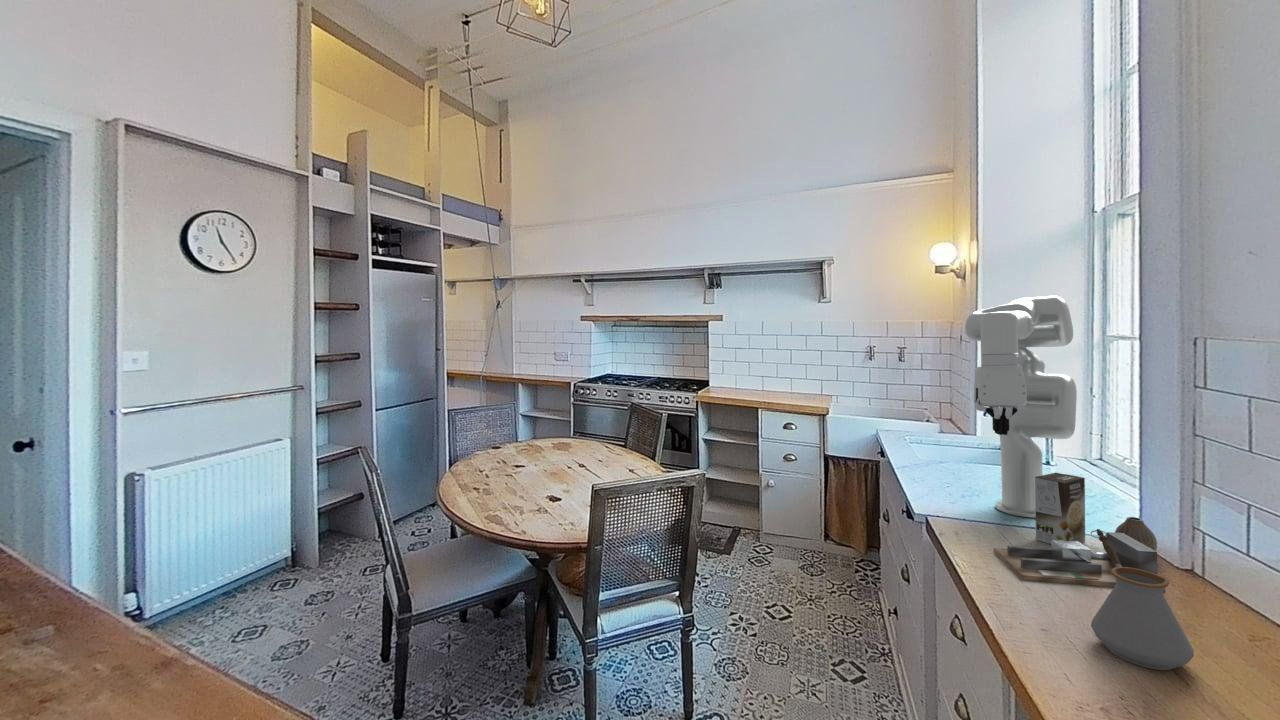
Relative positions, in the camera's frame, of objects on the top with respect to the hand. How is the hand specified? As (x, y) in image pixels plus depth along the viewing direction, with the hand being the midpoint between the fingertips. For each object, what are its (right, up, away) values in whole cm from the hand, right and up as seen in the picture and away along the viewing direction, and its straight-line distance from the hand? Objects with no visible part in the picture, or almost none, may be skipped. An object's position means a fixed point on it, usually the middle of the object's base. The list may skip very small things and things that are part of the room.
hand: (1000, 433), depth 121 cm
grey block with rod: (+6, -26, -18) cm, 33 cm away
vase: (+23, -27, -11) cm, 37 cm away
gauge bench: (+4, -27, -16) cm, 32 cm away
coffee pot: (-8, -29, -39) cm, 49 cm away
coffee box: (+14, -27, -1) cm, 30 cm away
